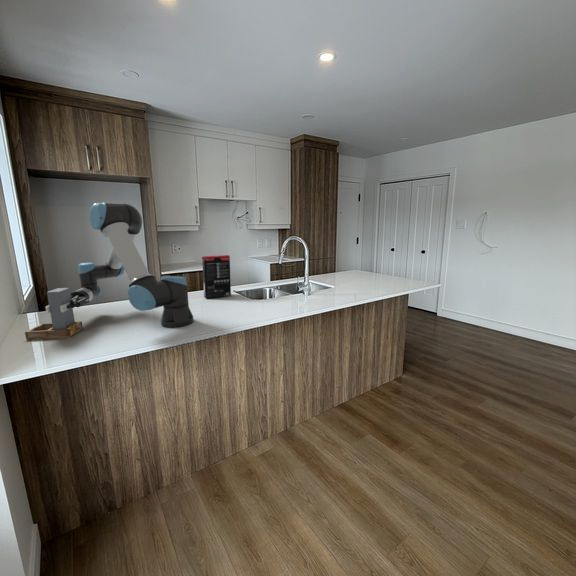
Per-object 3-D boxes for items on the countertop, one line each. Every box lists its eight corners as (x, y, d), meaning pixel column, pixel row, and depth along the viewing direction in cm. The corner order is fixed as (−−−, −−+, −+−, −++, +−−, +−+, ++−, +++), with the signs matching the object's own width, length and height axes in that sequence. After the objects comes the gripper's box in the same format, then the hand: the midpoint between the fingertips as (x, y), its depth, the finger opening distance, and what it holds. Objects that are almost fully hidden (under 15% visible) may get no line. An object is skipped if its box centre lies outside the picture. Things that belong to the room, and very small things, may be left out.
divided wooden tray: (43, 330, 147) (41, 321, 146) (84, 328, 149) (82, 319, 148) (26, 339, 135) (24, 330, 134) (70, 337, 137) (69, 327, 137)
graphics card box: (228, 294, 216) (226, 254, 210) (232, 296, 210) (230, 255, 204) (203, 297, 208) (200, 256, 202) (206, 299, 202) (203, 257, 196)
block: (63, 324, 146) (57, 288, 142) (75, 323, 146) (69, 287, 143) (53, 330, 138) (46, 292, 134) (65, 329, 139) (59, 291, 135)
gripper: (101, 303, 160) (78, 316, 137) (62, 304, 157) (32, 319, 135) (99, 288, 158) (75, 300, 135) (60, 290, 155) (29, 302, 133)
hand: (54, 309), depth 135 cm, fingers closed on block, 5 cm apart
